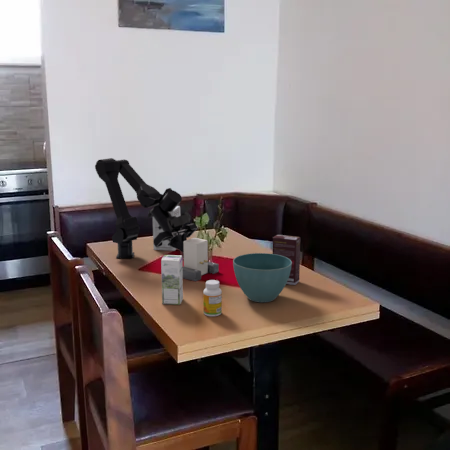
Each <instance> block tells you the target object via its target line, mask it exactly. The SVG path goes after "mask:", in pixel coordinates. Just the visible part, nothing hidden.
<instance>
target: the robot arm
mask: <svg viewBox="0 0 450 450" xmlns="http://www.w3.org/2000/svg"><path fill="white" fill-rule="evenodd" d="M94 169H95V171H96V174H97V176H98V177H99V179H100V180H102V182H104V184H105V187H106V189H107V191H108V195H109V198H110V202H111V204H112V207H113V211H114V214H115V217H116V221H115V232H114V233H113V234H112V236H111V239H112V241H111V242H113V244H117V254H116V256H115V257H116V259H134V256H135V252H133V251H134V250H133V247H134V246H133V241H136V240H137V239H138V236H139V232H140V225H139V223H138V219H137V217H136V216H132V215H131V214H130V212H129V209H128V206H127V203H126V200H125V197H124V194H123V192H122V188H121V186H120V185H121V184H120V182H119V174H120V176H122V177H123V179H124V181H126V182H127V183H128V185H129V186H130V187H131V188H132V189H133V190H134V192H135V193H136V198H137V200H138V202H139V203H140V205H141V206H142V207H143V208H145V209H146V208H152V207H153V208H152V209H149V210H148V214H147V218H153V217H154V218H155V220H156V221H157V223H158V224H159V227H158V228H159V230H160V229H162V230H163V231H164V232H161V233H159V234H158V235H157V236H156V238H155V239H154V240H153V239H152V240H153V241H152V242H153V244H154V245H155V247H156V248H157V247H160V246H162V241H165V240H169V244H168V246H172V247H174V248H176V250H177V251H180V252H181V253H183V254H184V241H185V240H188V239H190V237H191V236H193V234H194V233H195V232H196V231H197V230H198V227H197V224H195V223H191V220H192V216H191V214H190V213H189V212H188V211H185V212H183V213H181V216H179V217H176V216H172V215H171V214H170V212H172V211H173V210H174V209H175V208H176V207H177V206H179V205H180V203H181V202H182V196H181V194H180V193H178V192H177V191H176V190H173V189H172V188H171V187H168V188H166V189H165V190H164V192H163V193H160V191H158V190H157V188H155V187H153V186H152V185H149V184H148V183H146V181H145V180H144V179H143V178H142V177H141V176H140V175H139V174H138V172H136V170H135V168H133V167H132V165H131V164H130V162H129V160H127V159H118V160H117V159H115V158H112V157H111V158H103V159H98V160H97V161H96V163H95V165H94ZM189 223H190V224H189ZM184 225H185V226H184ZM153 244H152V245H153ZM154 245H153V246H154Z"/></svg>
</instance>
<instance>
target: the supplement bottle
mask: <svg viewBox="0 0 450 450" xmlns="http://www.w3.org/2000/svg"><path fill="white" fill-rule="evenodd" d="M222 292H223V291H222V289H221V288H220V281H219V280H218V279H216V280H215V279H209V280H206V282H205V288H204V289H203V292H202V293H203V295H202V298H203V301H202V302H203V308H202V309H203V314H204V315H205V316H207V317H218V316H220V315H221V314H222V310H223V309H222V308H223V307H222V306H223V305H222V304H223V303H222V302H223V301H222V300H223V297H222V295H223V294H222Z"/></svg>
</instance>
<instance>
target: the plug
mask: <svg viewBox="0 0 450 450" xmlns="http://www.w3.org/2000/svg"><path fill="white" fill-rule="evenodd" d="M208 242H209V241H208V239H202V238H198V237H192V238H188V239H187V240H185V241H184V253H183V267H187V268H191V269H195V270H199V271H201V276H203V275H206V274H209V273H208V262H209V259H208V258H209V257H208V256H209V255H208V253H209V252H208V251H209V249H208V244H209V243H208Z"/></svg>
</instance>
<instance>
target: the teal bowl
mask: <svg viewBox="0 0 450 450" xmlns="http://www.w3.org/2000/svg"><path fill="white" fill-rule="evenodd" d="M291 265H292V261H291V260H290V259H289V258H287V257H284V256H281V255H276V254H273V253H266V252H263V253H262V252H255V253H254V252H253V253H246V254H241V255H238V256H236V257H235V258H233V259H232V266H233V271H234V272H233V273H234V275H235V279H236V282H237V284H238V286H239V288H240V290H241V291H242V292H243V293H244V295H245V296H246V297H247V299H249V300H250V301H252V302H256V303H269V302H273V301H274V300H275V299H277V298H278V296H279V295H280V294H281V292H282V291H283V290H284V288H285V287H286V285H287V284H286V283H287V281H288V278H289V275H290V271H291Z"/></svg>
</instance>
